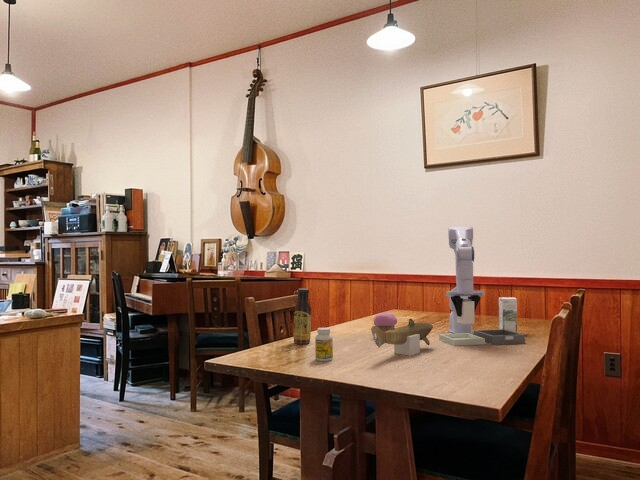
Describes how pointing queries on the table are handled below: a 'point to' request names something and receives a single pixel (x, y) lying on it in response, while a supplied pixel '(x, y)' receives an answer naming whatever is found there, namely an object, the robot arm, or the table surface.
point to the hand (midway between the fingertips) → (465, 316)
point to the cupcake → (385, 321)
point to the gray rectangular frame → (500, 336)
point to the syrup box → (508, 313)
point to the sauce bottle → (302, 318)
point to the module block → (467, 312)
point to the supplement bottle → (324, 345)
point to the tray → (461, 339)
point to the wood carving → (403, 337)
